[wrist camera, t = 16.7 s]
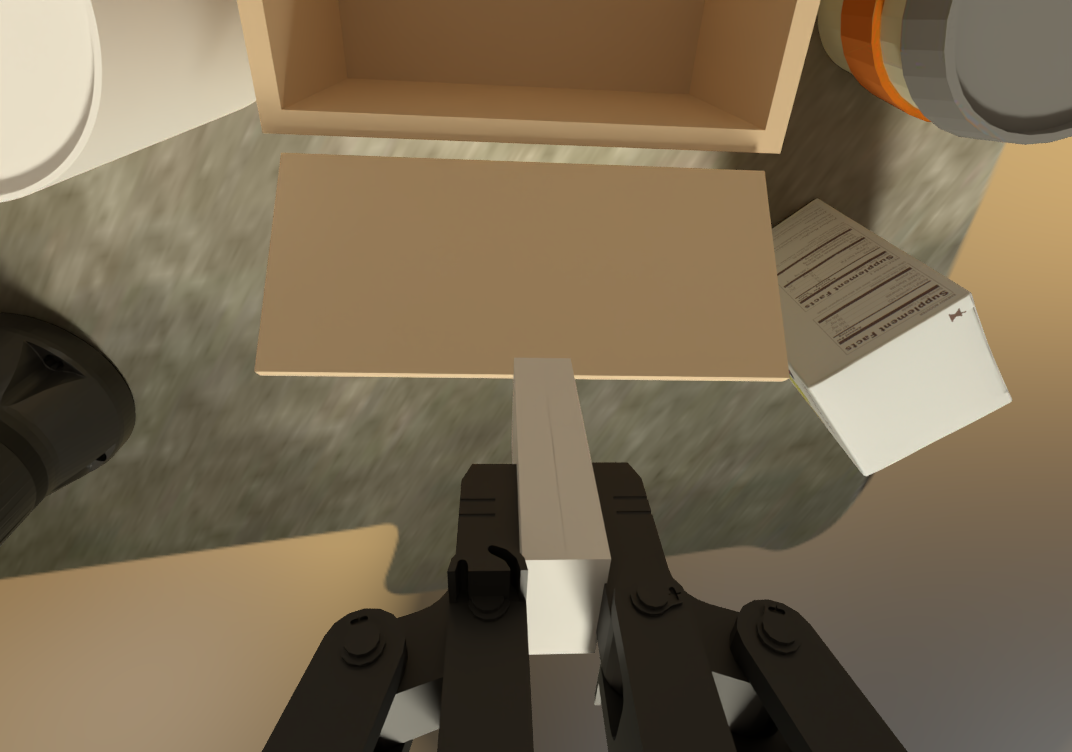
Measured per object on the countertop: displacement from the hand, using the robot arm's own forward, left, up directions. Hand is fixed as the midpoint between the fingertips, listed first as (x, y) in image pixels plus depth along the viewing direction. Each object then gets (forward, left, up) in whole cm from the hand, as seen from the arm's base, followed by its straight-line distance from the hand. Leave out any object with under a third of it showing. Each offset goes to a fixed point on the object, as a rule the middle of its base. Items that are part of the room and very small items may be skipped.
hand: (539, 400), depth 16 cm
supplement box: (+22, -8, -30) cm, 38 cm away
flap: (0, 0, -11) cm, 11 cm away
